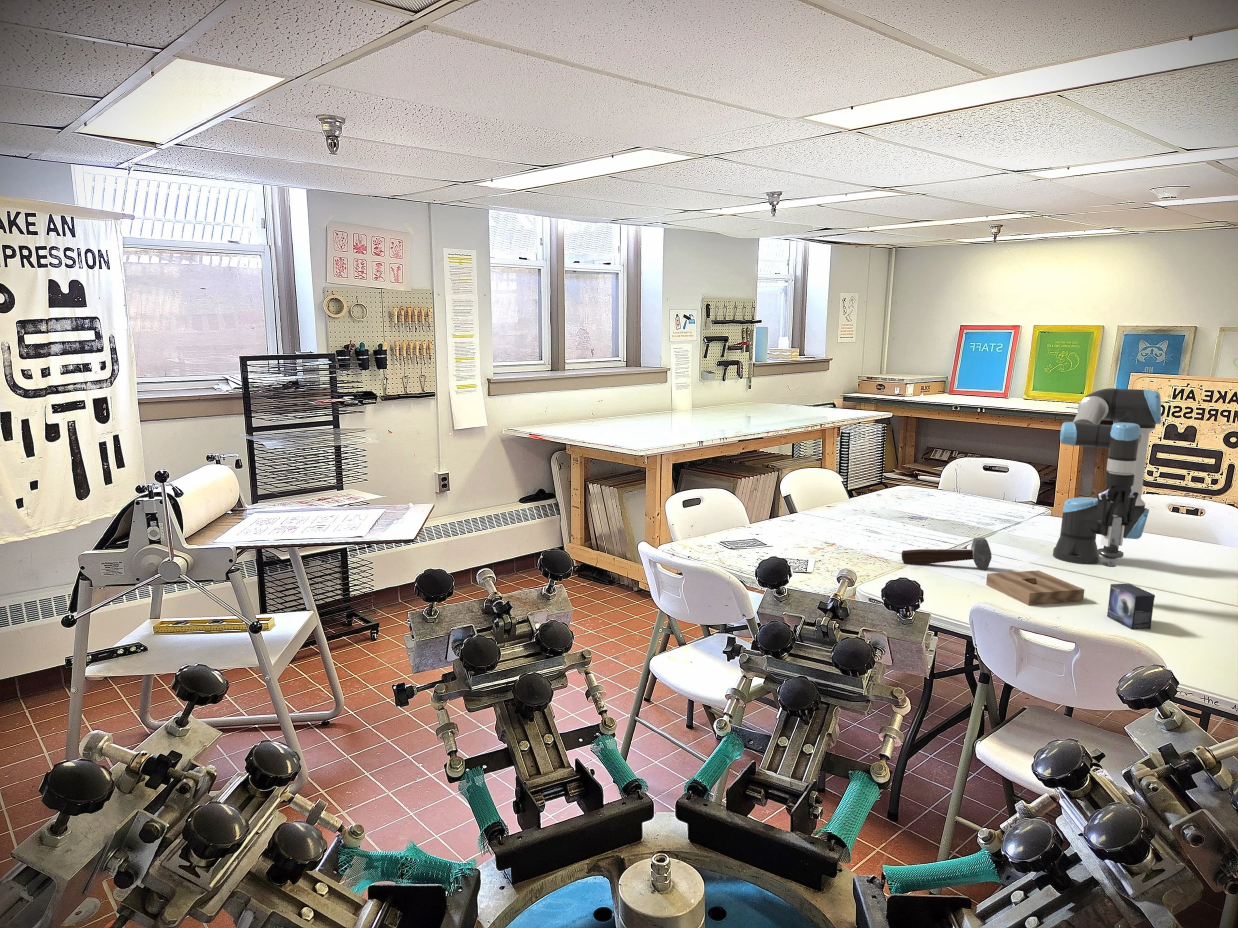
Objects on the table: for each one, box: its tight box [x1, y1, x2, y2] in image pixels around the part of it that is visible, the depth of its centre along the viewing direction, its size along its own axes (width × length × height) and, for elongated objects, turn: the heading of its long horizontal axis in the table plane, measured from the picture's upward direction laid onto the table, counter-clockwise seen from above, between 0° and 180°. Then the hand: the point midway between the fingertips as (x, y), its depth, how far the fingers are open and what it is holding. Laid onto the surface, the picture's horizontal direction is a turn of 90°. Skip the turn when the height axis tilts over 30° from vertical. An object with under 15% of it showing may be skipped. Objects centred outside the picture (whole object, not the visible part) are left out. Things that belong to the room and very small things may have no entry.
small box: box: [1106, 582, 1156, 630], centre depth 228 cm, size 11×6×10 cm, turn 5°
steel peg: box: [1097, 515, 1125, 568], centre depth 245 cm, size 7×7×16 cm
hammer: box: [901, 537, 993, 571], centre depth 282 cm, size 5×11×30 cm
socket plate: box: [985, 569, 1085, 606], centre depth 253 cm, size 20×20×4 cm
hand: (1111, 544), depth 245 cm, fingers closed on steel peg, 4 cm apart
